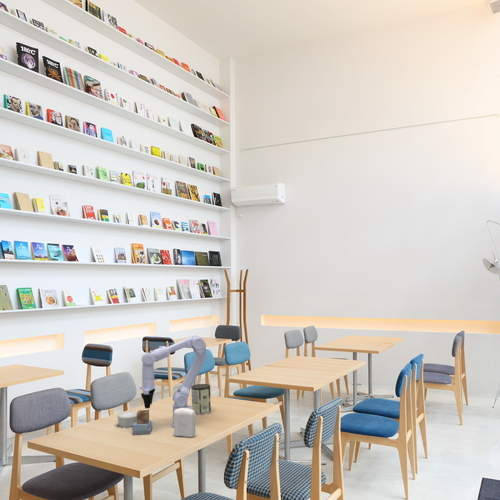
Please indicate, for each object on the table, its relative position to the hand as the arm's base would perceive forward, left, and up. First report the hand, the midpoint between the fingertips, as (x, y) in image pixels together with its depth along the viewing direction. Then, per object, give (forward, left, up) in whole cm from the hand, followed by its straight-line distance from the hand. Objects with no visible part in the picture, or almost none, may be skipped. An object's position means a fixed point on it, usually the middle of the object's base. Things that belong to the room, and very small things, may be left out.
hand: (148, 406), depth 231 cm
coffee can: (-25, -24, -11) cm, 36 cm away
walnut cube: (+2, +6, -6) cm, 8 cm away
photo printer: (-18, +15, -11) cm, 26 cm away
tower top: (+2, +6, -9) cm, 11 cm away
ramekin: (+11, -8, -11) cm, 17 cm away
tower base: (+2, +6, -11) cm, 13 cm away
